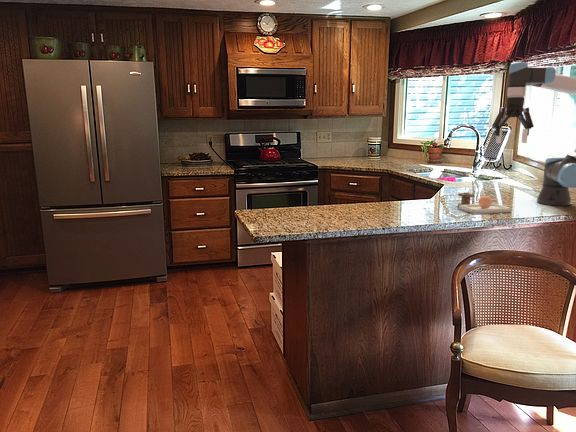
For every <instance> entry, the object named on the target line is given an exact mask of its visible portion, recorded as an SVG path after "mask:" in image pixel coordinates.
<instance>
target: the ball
mask: <svg viewBox="0 0 576 432" xmlns="http://www.w3.org/2000/svg"><path fill="white" fill-rule="evenodd" d="M477 204H479V206H480V207H481V208H484V209H486V208H489V207H490V206H491V205H492V204H493V200H492V198H491V197H490V196H488V195H482V196H480V198H479V199H478V201H477Z"/></svg>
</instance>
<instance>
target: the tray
mask: <svg viewBox="0 0 576 432" xmlns="http://www.w3.org/2000/svg"><path fill="white" fill-rule="evenodd" d="M458 209H459V210H461V211H464V212H465V213H469V214H473V215H478V214H479V215H480V214H481V215H482V214H500V213H503V214H504V213H505V214H506V213H511V212H512V208H511V207H509V206H507V205H506V206H505V205H502V204H498V203H493V202H492V205H491V206H490V207H489V208H486V209H484V208H481V207H480V206H479V204H478V203H473V204H472V203H470V204H466V205H459V206H458Z"/></svg>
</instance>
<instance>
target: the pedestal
mask: <svg viewBox="0 0 576 432" xmlns="http://www.w3.org/2000/svg"><path fill="white" fill-rule="evenodd" d="M457 196H459V197H461V199H460V200H461V201H460V203H459V202H458V203H457V207H459V205H466V204H471V198H474V197H475V194H474V193H471V192H458V195H457Z"/></svg>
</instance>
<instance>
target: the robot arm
mask: <svg viewBox="0 0 576 432" xmlns="http://www.w3.org/2000/svg"><path fill="white" fill-rule="evenodd" d="M556 72H557V71H556V68H555V67H554V66H547V65H546V66H529V65H528V62H526V61H516V62H511V63H510V65H509V71H508V81H507V82H508V83H507V90H506V91H507V93H506V96H507V98H506V103H505V105H506V107H500V108H499V111H498V114H497V116H496V118H495V120H494V121H493V124H492V125H491V127H492V128H494V129H495V136H496V137H495V138H496V139H495V144H501V143H502V135H503V128H502V127H503V126H504V125H505V124H506V123H507V121H509V119H510V118H517V119H518V120H519V121H520V124H521V125H522V126H523V129H522V132H521V133H522V136H521V143H524V144H527V143H528V142H527V141H528V136H529V134H530V130H531V129H532V128H534V127H535V125H534V123H533V120H532V115H531V114H530V107H524V105H525V96H526V87H529V86H532V87H536V88H542V89H546V90H550V91H555V92H560V93H564V94H569V95H574V96H576V77H572V76H567V75H562V74H557V73H556ZM543 166H544V169H543V176H542V177H543V179H542V187H541V189H540V191H539V195H538V196H537V198H536V203H538V204H542V205H547V206H554V207H555V206H557V207H558V206H559V207H560V206H561V207H562V206H563V207H565V206H571V204H572V199H571V195H570V189H572V188H573V189H574V188H576V148H575V149H574V151H573V152H572V153H568V154H566V155H565V157H548V158H546V159H545V161H544V165H543ZM569 188H570V189H569Z"/></svg>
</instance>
